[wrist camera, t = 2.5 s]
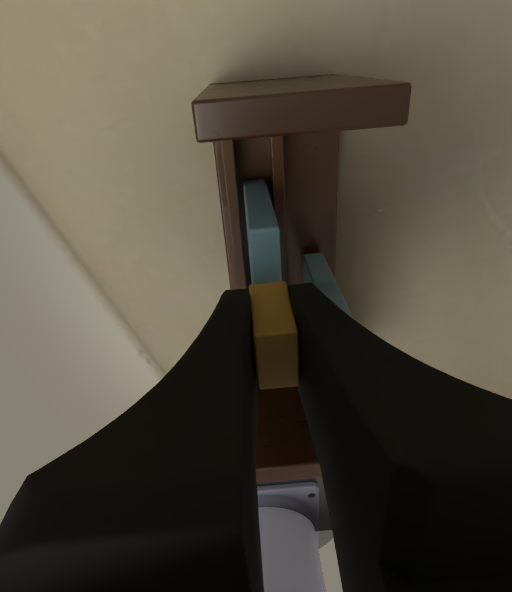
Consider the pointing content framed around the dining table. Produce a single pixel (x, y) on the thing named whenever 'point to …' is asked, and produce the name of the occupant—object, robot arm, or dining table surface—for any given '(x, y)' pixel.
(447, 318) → the dining table surface
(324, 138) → the brown wooden rack
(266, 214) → the pane
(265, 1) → the dining table surface
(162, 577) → the robot arm
